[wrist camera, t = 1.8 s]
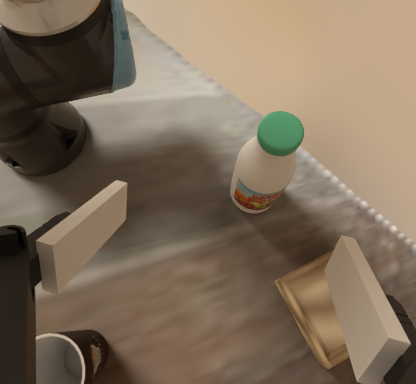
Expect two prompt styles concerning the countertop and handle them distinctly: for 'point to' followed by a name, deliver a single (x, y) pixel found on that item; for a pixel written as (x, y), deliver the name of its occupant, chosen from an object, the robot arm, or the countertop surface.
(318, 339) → the wooden tray
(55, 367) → the coffee mug
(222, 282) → the countertop surface
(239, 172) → the milk bottle
